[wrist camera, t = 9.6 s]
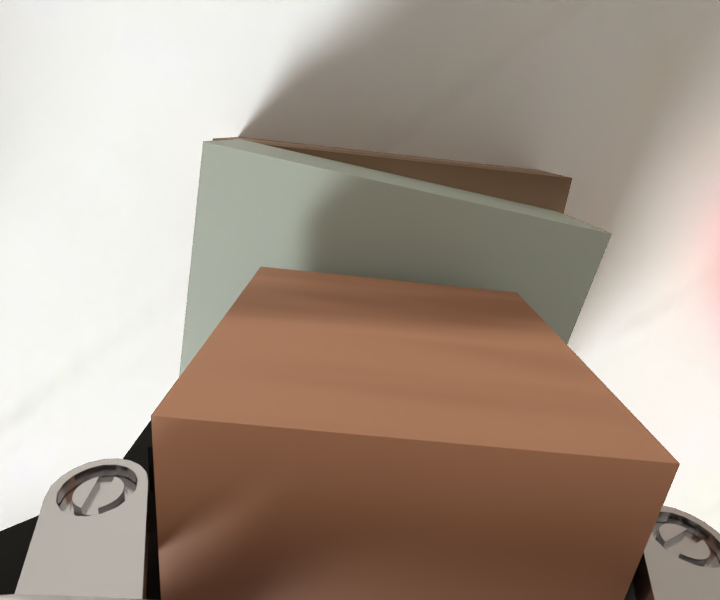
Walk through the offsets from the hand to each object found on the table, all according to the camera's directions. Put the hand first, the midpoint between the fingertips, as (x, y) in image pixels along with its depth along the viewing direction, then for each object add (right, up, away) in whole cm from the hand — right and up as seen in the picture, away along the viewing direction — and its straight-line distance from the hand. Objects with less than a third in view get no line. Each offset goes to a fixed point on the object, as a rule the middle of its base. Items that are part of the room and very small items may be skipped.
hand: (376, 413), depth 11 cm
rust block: (0, 0, +1) cm, 1 cm away
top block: (0, +2, +5) cm, 5 cm away
